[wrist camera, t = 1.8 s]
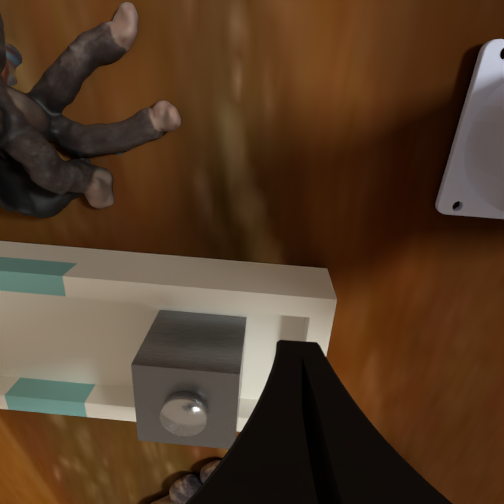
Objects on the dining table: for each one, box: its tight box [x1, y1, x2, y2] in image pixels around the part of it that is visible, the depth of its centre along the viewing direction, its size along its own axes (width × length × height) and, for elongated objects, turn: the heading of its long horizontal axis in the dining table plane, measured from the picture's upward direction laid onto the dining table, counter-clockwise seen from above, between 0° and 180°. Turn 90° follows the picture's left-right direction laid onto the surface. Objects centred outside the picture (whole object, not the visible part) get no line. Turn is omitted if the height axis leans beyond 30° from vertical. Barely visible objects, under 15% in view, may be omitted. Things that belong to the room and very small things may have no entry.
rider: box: [131, 310, 247, 449], centre depth 19 cm, size 5×5×5 cm
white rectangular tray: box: [0, 241, 337, 431], centre depth 22 cm, size 22×13×4 cm, turn 86°
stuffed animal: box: [0, 2, 181, 218], centre depth 18 cm, size 12×10×12 cm
